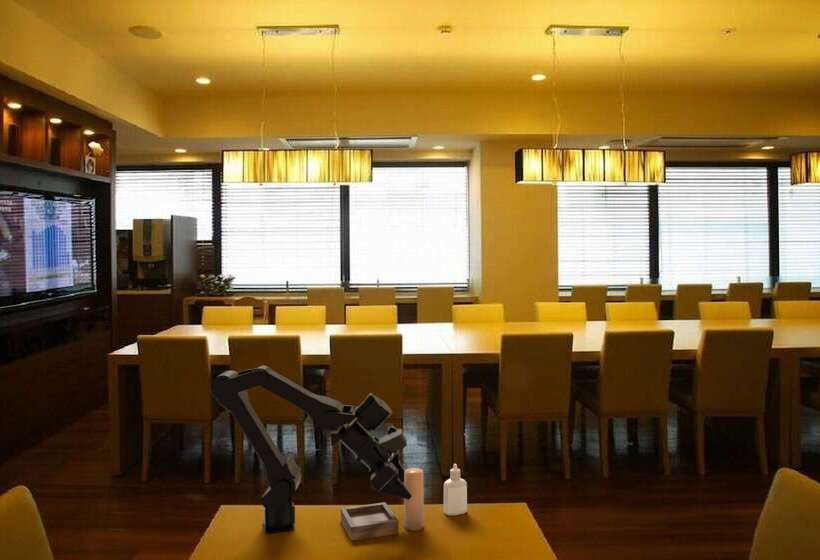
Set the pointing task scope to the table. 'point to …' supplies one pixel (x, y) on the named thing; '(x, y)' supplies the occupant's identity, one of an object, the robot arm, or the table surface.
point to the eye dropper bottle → (455, 494)
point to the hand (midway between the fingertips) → (410, 490)
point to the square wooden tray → (369, 521)
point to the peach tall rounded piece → (414, 499)
